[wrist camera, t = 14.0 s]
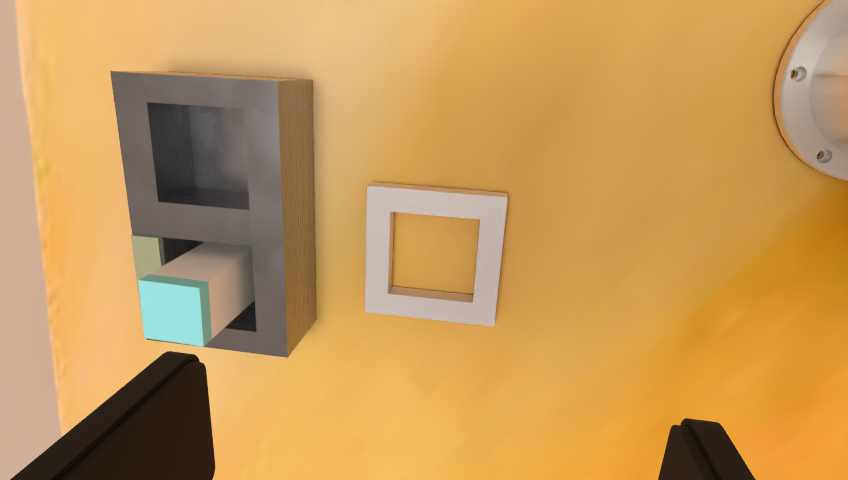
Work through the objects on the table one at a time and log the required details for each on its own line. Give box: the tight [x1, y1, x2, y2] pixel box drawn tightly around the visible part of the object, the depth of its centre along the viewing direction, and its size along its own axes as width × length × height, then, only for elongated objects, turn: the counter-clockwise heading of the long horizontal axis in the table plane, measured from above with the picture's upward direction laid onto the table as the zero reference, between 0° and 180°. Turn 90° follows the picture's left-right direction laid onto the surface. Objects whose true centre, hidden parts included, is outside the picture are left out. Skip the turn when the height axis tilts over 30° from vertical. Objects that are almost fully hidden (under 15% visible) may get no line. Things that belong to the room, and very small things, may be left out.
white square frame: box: [365, 182, 508, 327], centre depth 38 cm, size 10×10×2 cm
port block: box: [110, 71, 316, 357], centre depth 37 cm, size 11×19×6 cm, turn 177°
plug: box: [138, 242, 255, 347], centre depth 36 cm, size 4×4×9 cm
